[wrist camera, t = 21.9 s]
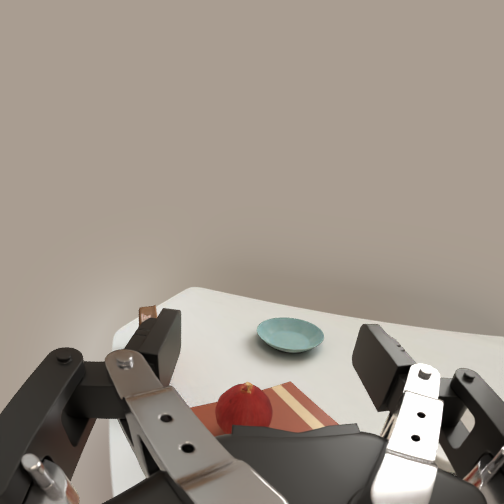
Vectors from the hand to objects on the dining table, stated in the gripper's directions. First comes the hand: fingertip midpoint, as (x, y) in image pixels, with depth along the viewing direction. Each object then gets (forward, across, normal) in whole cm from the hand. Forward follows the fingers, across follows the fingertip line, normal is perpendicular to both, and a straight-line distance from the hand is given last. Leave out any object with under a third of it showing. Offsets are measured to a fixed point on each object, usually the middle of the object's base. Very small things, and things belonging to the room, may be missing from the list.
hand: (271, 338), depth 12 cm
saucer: (+34, -9, +20) cm, 40 cm away
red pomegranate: (+11, 0, +20) cm, 22 cm away
